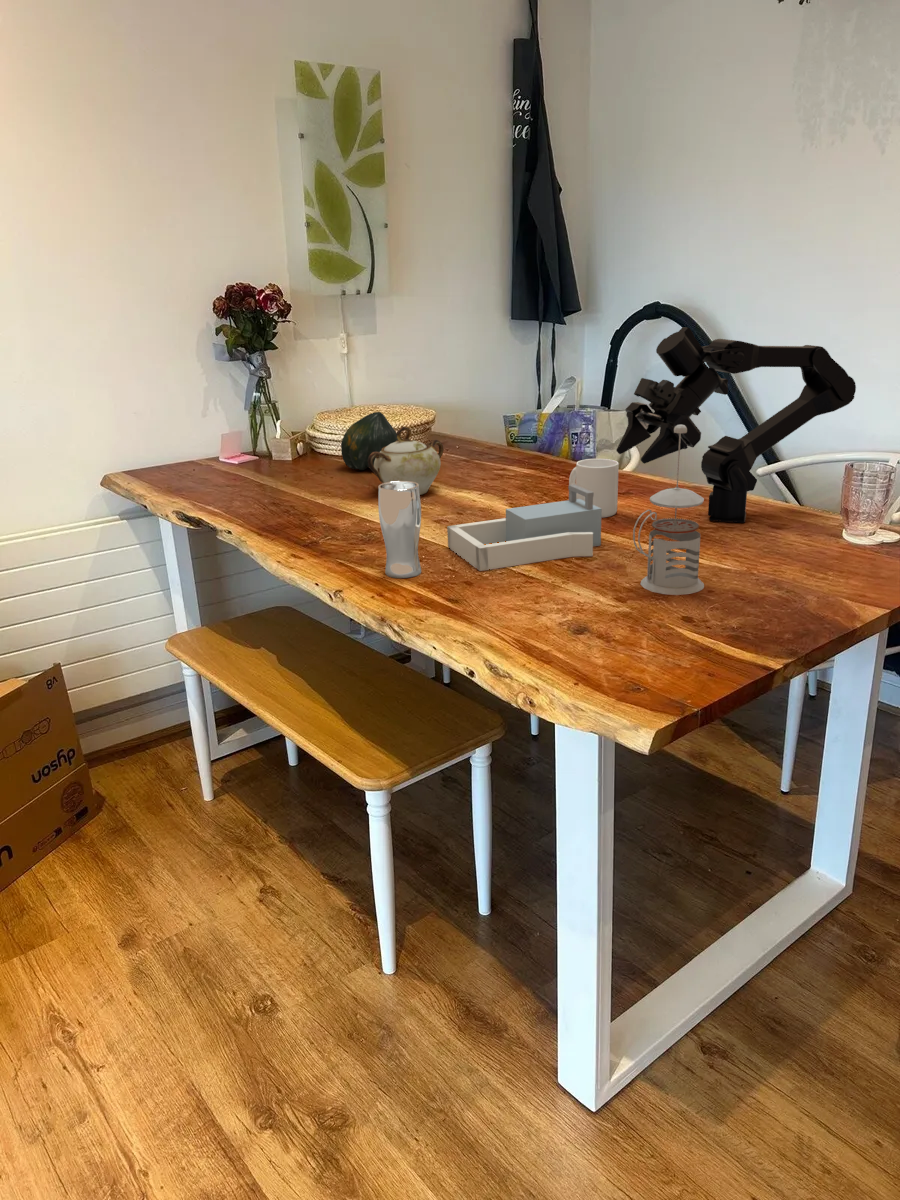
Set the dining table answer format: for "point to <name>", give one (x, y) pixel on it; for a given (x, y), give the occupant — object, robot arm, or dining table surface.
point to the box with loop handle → (556, 517)
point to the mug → (598, 482)
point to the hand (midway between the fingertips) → (629, 457)
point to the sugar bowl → (407, 461)
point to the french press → (673, 542)
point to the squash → (366, 440)
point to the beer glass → (400, 527)
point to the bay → (512, 545)
